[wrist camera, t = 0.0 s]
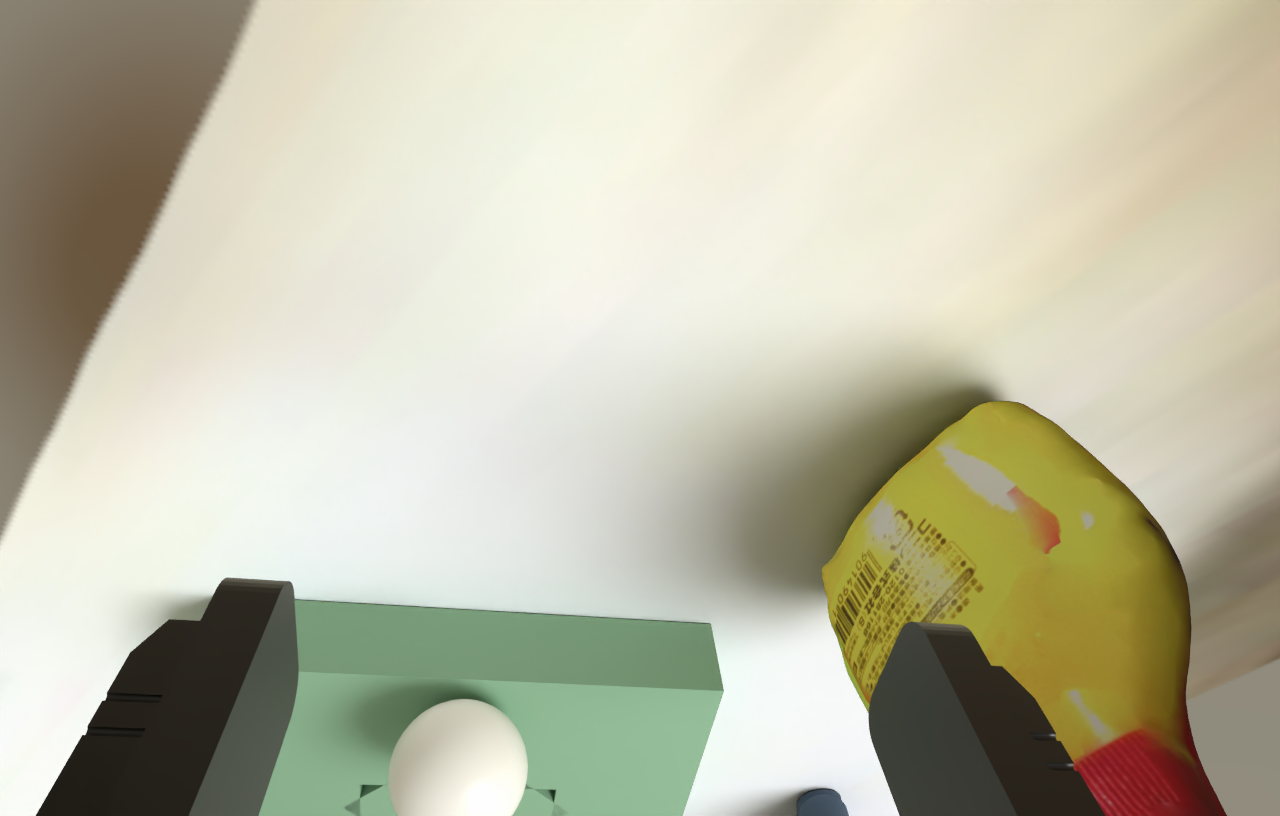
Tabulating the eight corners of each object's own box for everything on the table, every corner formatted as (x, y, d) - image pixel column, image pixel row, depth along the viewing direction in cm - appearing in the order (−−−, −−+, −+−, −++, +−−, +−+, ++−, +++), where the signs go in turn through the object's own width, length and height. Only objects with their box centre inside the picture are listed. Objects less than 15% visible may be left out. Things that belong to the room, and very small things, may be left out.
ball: (401, 667, 31) (375, 792, 27) (536, 673, 31) (531, 796, 27) (399, 750, 33) (375, 876, 29) (524, 754, 34) (518, 877, 30)
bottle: (963, 341, 29) (1506, 982, 12) (1090, 408, 31) (1704, 1036, 14) (774, 569, 34) (975, 1231, 18) (894, 613, 36) (1174, 1244, 20)
